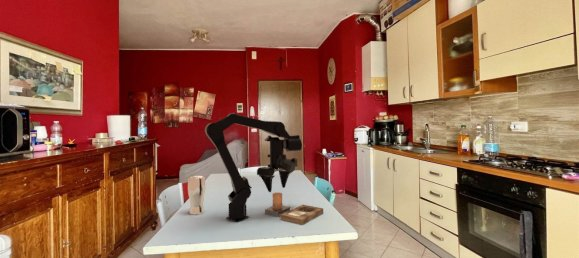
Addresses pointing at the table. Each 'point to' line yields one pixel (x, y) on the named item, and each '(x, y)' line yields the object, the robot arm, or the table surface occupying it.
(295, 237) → the table surface
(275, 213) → the tab
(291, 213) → the hole plate
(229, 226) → the table surface
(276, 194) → the peg
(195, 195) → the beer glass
